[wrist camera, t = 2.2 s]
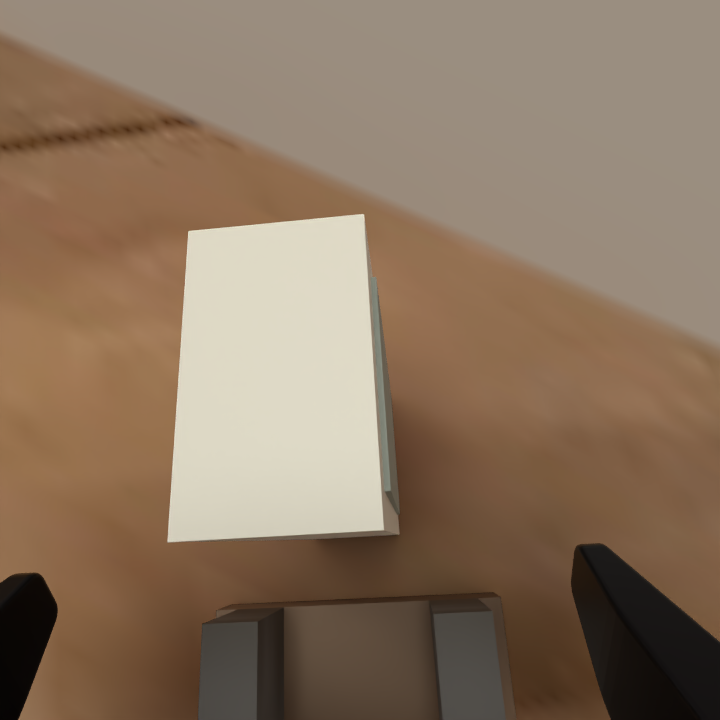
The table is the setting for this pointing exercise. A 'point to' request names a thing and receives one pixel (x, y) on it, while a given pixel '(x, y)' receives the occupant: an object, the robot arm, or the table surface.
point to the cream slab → (282, 388)
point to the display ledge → (358, 660)
